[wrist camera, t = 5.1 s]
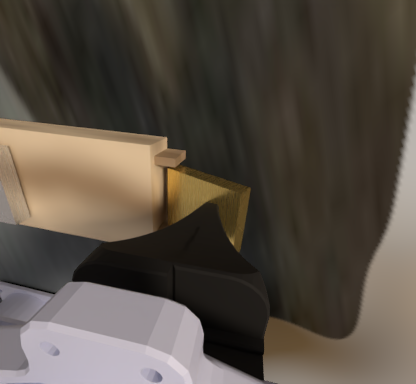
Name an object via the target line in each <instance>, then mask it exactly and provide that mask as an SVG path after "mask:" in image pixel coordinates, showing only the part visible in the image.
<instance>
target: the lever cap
mask: <svg viewBox="0 0 416 384" xmlns="http://www.w3.org/2000/svg"><path fill="white" fill-rule="evenodd" d="M28 218H30V214H29V211H28V208H27V204H26V201H25V198H24V195H23V192H22V189H21V185H20V182H19V179H18V176H17V173H16V170H15V166H14V163H13V160H12V157H11V154H10V151H9V148H8V146H7V145H0V222H4V223H9V224H15V225H17V224H19V223H21V222H23V221H24V220H26V219H28Z"/></svg>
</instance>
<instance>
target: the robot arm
mask: <svg viewBox="0 0 416 384" xmlns="http://www.w3.org/2000/svg"><path fill="white" fill-rule="evenodd" d="M72 280H73V282H68V283H67V284H66V285H64V286H63V287H62V288H61V289H59V290H58V291H57V292H56V293H55V294H51V293H46V292H42V291H38V290H34V289H30V288H26V287H22V286H18V285H14V284H10V283H6V282H1V281H0V297H1V299H2V302H1V303H0V384H277V383H273V382H269V381H265V380H264V374H263V354H264V334H265V331H266V327H267V323H268V320H269V314H270V307H269V301H268V296H267V292H266V288H265V285H264V282H263V279H262V276H261V274H260V272H259V271H258V270H257V269H256V268H255V267H253V266H252V265H251V264H250V263H248V262H247V261H246V260H245V259H244V258H243V257H242V256H241V255H240V254H239V252H238V251H237V250H236V249H235V247H234V246H233V245H232V243H231V242H230V240H229V238H228V236H227V234H226V232H225V230H224V228H223V225H222V223H221V219H220V215H219V206H218V205H217V204H214V203H209V202H205V203H204V204H203V205H201V206H200V207H199V208H197V209H196V210H195V211H193V212H192V213H190V214H189V215H188V216H186V217H184V218H183V219H181V220H179V221H178V222H176V223H174V224H172V225H170V226H168V227H165V228H163V229H160V230H158V231H155V232H152V233H149V234H146V235H142V236H139V237H135V238H130V239H126V240H120V241H113V242H107V243H102V244H101V245H100V246H99V247H97V248H96V249H95V250H94V251H93V252H92V253H91V254H90V255H89V256H88V257H87V258H86V259H85V260H84V261H83V262H82V263H81V264H80V265H79V266H78V267H77V269H76V270H75V271H74V274H73V278H72Z"/></svg>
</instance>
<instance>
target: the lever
mask: <svg viewBox="0 0 416 384" xmlns="http://www.w3.org/2000/svg"><path fill="white" fill-rule="evenodd" d="M250 190H251V188H249V187H246V186H243V185H240V184H237V183H234V182H231V181H228V180H225V179H222V178H219V177H216V176H213V175H209V174H206V173H203V172H200V171H197V170H194V169H191V168H188V167H185V166H182V165H177V166H176V167H170V168H168V225H172V224H174V223H176V222H178V221H179V220H181V219H183V218H184V217H186V216H188V215H189V214H190V213H192V212H193V211H195V210H196V209H197V208H199V207H200V206H201V205H203V204H204V203H205V202H209V203H214V204H217V205H218V206H219V215H220V219H221V223H222V225H223V228H224V230H225V232H226V234H227V236H228V238H229V240H230V242H231V243H232V245H233V246H234V247H235V249H236V250H237V251H238V252H239V251H240V249H241V243H242V237H243V231H244V225H245V219H246V213H247V207H248V201H249V196H250Z"/></svg>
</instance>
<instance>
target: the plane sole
mask: <svg viewBox="0 0 416 384" xmlns="http://www.w3.org/2000/svg"><path fill="white" fill-rule="evenodd" d="M0 145H7V146H8V148H9V151H10V154H11V157H12V160H13V163H14V166H15V170H16V173H17V176H18V179H19V182H20V185H21V189H22V192H23V195H24V198H25V201H26V204H27V208H28V211H29V214H30V218H28V219H26V220H24V221H23V222H21V223H19V224H21V225H26V226H31V227H36V228H41V229H46V230H51V231H57V232H62V233H67V234H72V235H77V236H82V237H87V238H92V239H97V240H102V241H107V242H113V241H120V240H126V239H130V238H135V237H139V236H142V235H146V234H149V233H152V232H155V231H158V230H160V229H163V228H165V227H168V226H170V225H168V214H167V166H168V167H176V166H177V165H179V164H180V163H181V162H182V161H183V160H184V159H185V158H186V151H185V150H177V149H168V148H167V137H160V136H151V135H142V134H133V133H124V132H116V131H107V130H98V129H89V128H81V127H72V126H63V125H54V124H46V123H37V122H28V121H19V120H11V119H2V118H0Z"/></svg>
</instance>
